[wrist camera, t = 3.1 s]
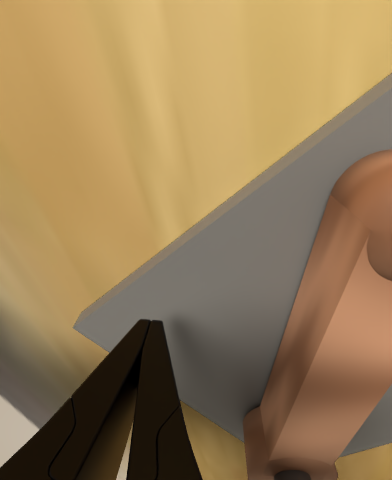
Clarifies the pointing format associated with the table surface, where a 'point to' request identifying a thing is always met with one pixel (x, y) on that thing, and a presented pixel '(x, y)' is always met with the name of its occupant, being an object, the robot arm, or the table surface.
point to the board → (247, 276)
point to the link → (331, 336)
